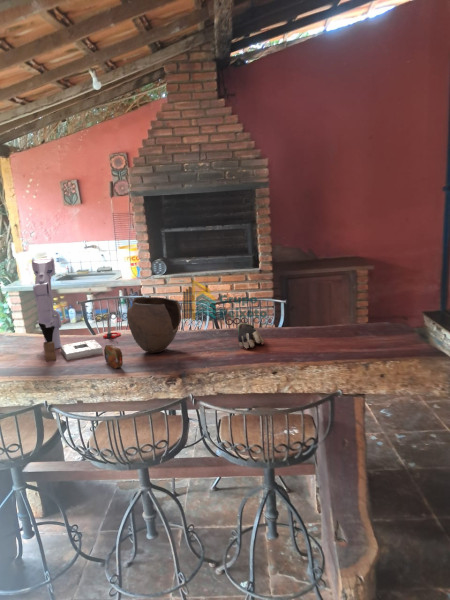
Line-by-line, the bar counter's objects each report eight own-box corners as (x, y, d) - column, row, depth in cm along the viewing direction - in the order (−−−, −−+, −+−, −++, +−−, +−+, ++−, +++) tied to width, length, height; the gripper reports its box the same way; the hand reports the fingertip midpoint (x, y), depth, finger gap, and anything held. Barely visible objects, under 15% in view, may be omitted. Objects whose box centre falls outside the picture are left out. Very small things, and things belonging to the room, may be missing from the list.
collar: (61, 351, 216) (60, 345, 215) (94, 345, 223) (94, 339, 222) (67, 360, 202) (66, 353, 201) (102, 353, 209) (102, 347, 209)
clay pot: (120, 353, 208) (115, 300, 203) (161, 341, 225) (157, 291, 220) (153, 363, 191) (148, 306, 187) (194, 349, 209) (190, 296, 204)
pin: (45, 359, 205) (43, 342, 203) (54, 357, 207) (52, 340, 205) (46, 361, 201) (44, 344, 200) (56, 359, 203) (54, 342, 202)
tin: (104, 362, 197) (102, 343, 195) (111, 360, 199) (109, 342, 197) (117, 371, 185) (115, 351, 183) (124, 369, 187) (123, 349, 185)
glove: (234, 341, 226) (239, 350, 201) (235, 322, 226) (239, 328, 201) (259, 342, 227) (266, 350, 202) (259, 322, 226) (267, 328, 201)
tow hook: (108, 334, 244) (101, 338, 235) (106, 310, 242) (99, 314, 233) (123, 334, 243) (116, 338, 234) (121, 310, 241) (114, 314, 232)
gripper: (32, 308, 204) (36, 337, 207) (36, 314, 191) (40, 345, 194) (49, 306, 207) (53, 335, 210) (54, 312, 195) (58, 342, 197)
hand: (48, 339), depth 202 cm, fingers open, 7 cm apart
